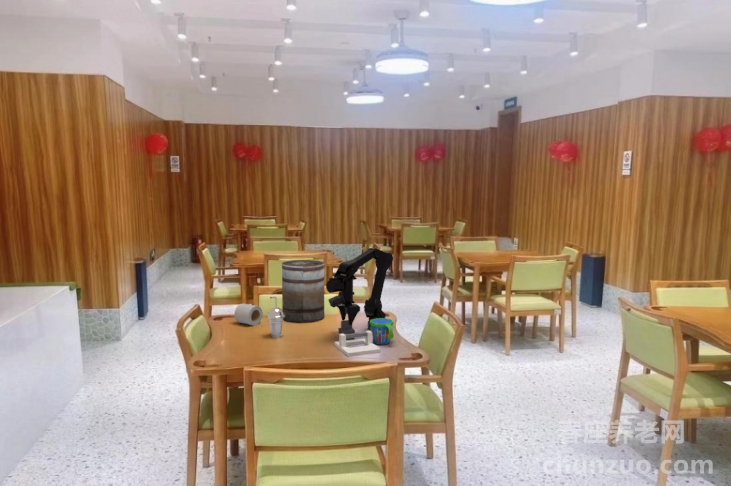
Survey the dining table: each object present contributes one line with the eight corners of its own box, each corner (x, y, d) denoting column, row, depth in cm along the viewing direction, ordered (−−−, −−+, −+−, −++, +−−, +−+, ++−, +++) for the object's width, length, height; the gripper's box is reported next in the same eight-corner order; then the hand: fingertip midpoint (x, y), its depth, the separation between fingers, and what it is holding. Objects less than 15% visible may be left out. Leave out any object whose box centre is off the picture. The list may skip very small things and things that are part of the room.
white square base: (365, 341, 227) (365, 327, 226) (380, 352, 212) (380, 337, 211) (334, 345, 221) (334, 330, 220) (347, 356, 206) (348, 341, 205)
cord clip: (350, 336, 235) (350, 318, 234) (354, 339, 230) (355, 321, 229) (338, 337, 233) (338, 319, 232) (342, 341, 227) (342, 322, 226)
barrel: (323, 312, 280) (323, 259, 277) (325, 322, 258) (325, 266, 255) (283, 313, 278) (282, 260, 274) (281, 323, 255) (280, 266, 252)
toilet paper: (262, 323, 256) (262, 304, 255) (248, 327, 248) (248, 308, 247) (248, 320, 262) (248, 301, 261) (234, 324, 253) (234, 305, 252)
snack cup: (363, 339, 230) (363, 317, 229) (383, 336, 235) (383, 315, 234) (379, 349, 216) (379, 326, 215) (400, 345, 221) (400, 323, 220)
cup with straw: (289, 336, 234) (288, 294, 231) (273, 340, 227) (273, 297, 225) (278, 332, 239) (277, 292, 237) (262, 336, 233) (262, 294, 231)
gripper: (323, 287, 234) (324, 319, 236) (337, 295, 217) (337, 329, 219) (345, 285, 238) (345, 317, 240) (360, 293, 221) (360, 327, 223)
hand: (346, 322), depth 230 cm, fingers open, 9 cm apart
